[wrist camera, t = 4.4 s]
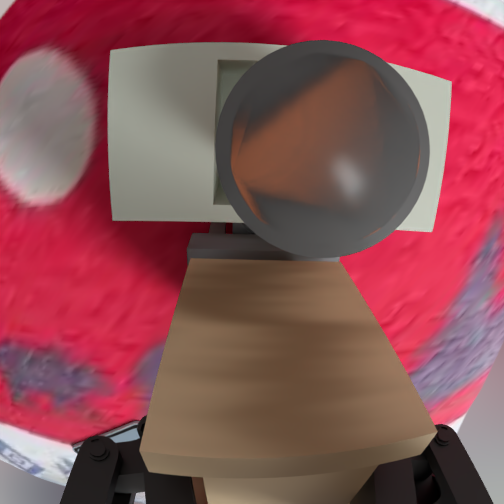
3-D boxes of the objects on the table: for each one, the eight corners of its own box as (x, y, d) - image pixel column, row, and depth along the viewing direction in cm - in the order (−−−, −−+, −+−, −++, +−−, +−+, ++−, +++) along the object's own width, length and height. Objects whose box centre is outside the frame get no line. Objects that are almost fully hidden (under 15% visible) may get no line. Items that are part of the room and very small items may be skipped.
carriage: (201, 319, 21) (174, 534, 8) (198, 218, 18) (124, 448, 5) (305, 320, 21) (360, 524, 8) (319, 222, 19) (447, 428, 5)
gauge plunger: (224, 194, 9) (213, 255, 5) (229, 70, 7) (220, 30, 4) (344, 200, 9) (410, 259, 5) (355, 82, 8) (436, 66, 4)
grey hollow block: (174, 166, 18) (112, 220, 9) (176, 82, 16) (110, 50, 7) (343, 173, 19) (432, 232, 9) (350, 93, 17) (451, 81, 7)
